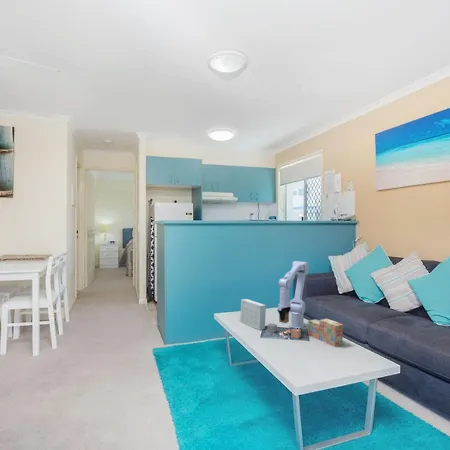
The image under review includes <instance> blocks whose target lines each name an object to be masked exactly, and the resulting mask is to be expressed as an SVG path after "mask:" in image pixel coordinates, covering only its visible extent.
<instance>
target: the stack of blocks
mask: <svg viewBox="0 0 450 450" xmlns="http://www.w3.org/2000/svg"><path fill="white" fill-rule="evenodd" d="M343 334H344V324H343V323H340V322H338V321H335V320H332V319H329V318H323V319H316V318H315V319H311V320H308V334H307V335H308V336H310V337H312V338H314V339H317V340H319V341H321V342H323V343H325V344H328V345H330V346H332V347H334V348H336V347H340V346H343V338H344V337H343Z"/></svg>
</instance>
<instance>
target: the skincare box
mask: <svg viewBox="0 0 450 450" xmlns="http://www.w3.org/2000/svg"><path fill="white" fill-rule="evenodd" d="M266 308H267V305H266V304H264V303H260V302H257V301H254V300H251V299H248V298H244V299H243V298H241V300H240V318H239V319H240V320H239V321H240V323H242V324H245V325H246V326H249V327H252V328H254V329H256V330H259V331H261V330H265V329H266V312H267V310H266Z"/></svg>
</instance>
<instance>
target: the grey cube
mask: <svg viewBox="0 0 450 450" xmlns="http://www.w3.org/2000/svg"><path fill="white" fill-rule="evenodd" d="M266 330H267V331H268V332H267V333H270V332H273V333H272V334H275V333H277V332H276V331H278V324H276V323H268V324H267V329H266ZM274 332H275V333H274Z"/></svg>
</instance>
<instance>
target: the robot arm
mask: <svg viewBox="0 0 450 450" xmlns="http://www.w3.org/2000/svg"><path fill="white" fill-rule="evenodd" d="M291 266H292V267H291V269H290V270H289V271H287V272H286V273H285V275H284V276H283V278H279V280H278V285H277V287H278V290H279V303H278V304H277V306H278V307H277V309H276V310H277V312H278V316H279V315H280V319H281V320H282V321H284V319H285V314H286V312H287V313H289V314H290V317H291V318H290V322H291V323H290V325H288V327H289V328H292V329H293V328H296V329H297V328H298V329H300V328H301V329H302V328H303V327H305V326H306V325H305V324H304V321H305V319H304V317H305V315H304V313H305V311H306V302H305V301H304V300H303V293H304V287H305V280H306V276H307V275H308V273H309V268H310V267H309V262H308V261H299V260H294V261H292V265H291ZM295 275H297V278H296V279H297V280H296V285H295V292H294V297H293V298H292V299H290V288H291V286H292V283H293V280H294V279H295V277H296V276H295Z"/></svg>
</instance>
